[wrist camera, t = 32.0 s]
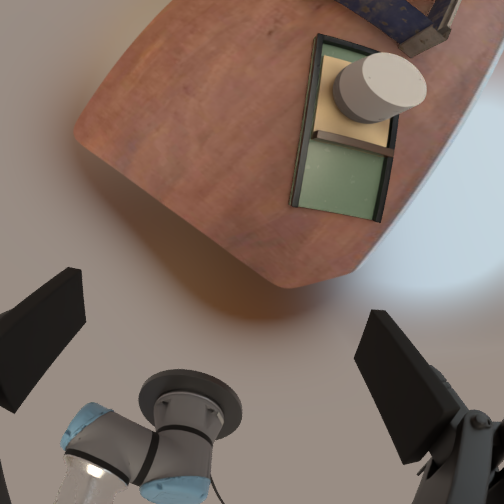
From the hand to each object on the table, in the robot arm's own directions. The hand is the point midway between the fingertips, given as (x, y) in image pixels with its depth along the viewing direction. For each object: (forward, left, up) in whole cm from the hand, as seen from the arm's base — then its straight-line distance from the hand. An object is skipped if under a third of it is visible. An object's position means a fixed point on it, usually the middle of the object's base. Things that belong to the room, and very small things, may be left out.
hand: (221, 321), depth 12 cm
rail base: (+15, -15, -35) cm, 41 cm away
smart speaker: (+20, -15, -33) cm, 41 cm away
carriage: (+18, -15, -34) cm, 41 cm away
